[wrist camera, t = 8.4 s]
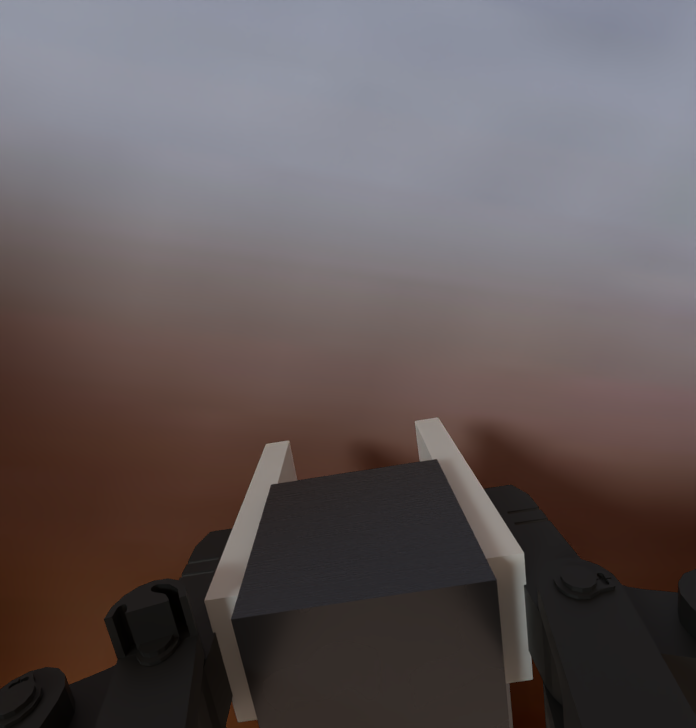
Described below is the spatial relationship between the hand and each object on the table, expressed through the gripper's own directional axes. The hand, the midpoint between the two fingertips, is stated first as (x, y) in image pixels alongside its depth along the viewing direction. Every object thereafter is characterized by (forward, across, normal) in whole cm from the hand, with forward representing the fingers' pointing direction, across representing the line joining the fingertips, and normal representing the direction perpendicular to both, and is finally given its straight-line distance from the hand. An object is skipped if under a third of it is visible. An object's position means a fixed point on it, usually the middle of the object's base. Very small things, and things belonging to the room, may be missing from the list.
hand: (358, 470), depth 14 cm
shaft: (-3, 0, -8) cm, 8 cm away
